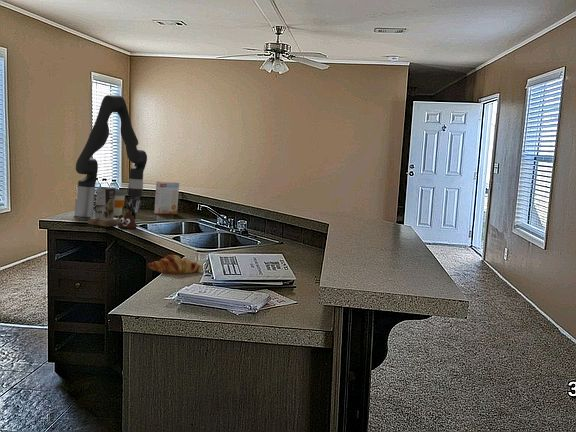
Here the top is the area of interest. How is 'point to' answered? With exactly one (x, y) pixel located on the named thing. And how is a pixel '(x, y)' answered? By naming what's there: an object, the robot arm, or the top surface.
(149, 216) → the top surface
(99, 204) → the coffee box
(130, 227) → the poop emoji
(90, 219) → the square wooden picture frame
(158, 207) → the cracker box
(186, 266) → the croissant
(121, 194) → the reusable coffee cup
